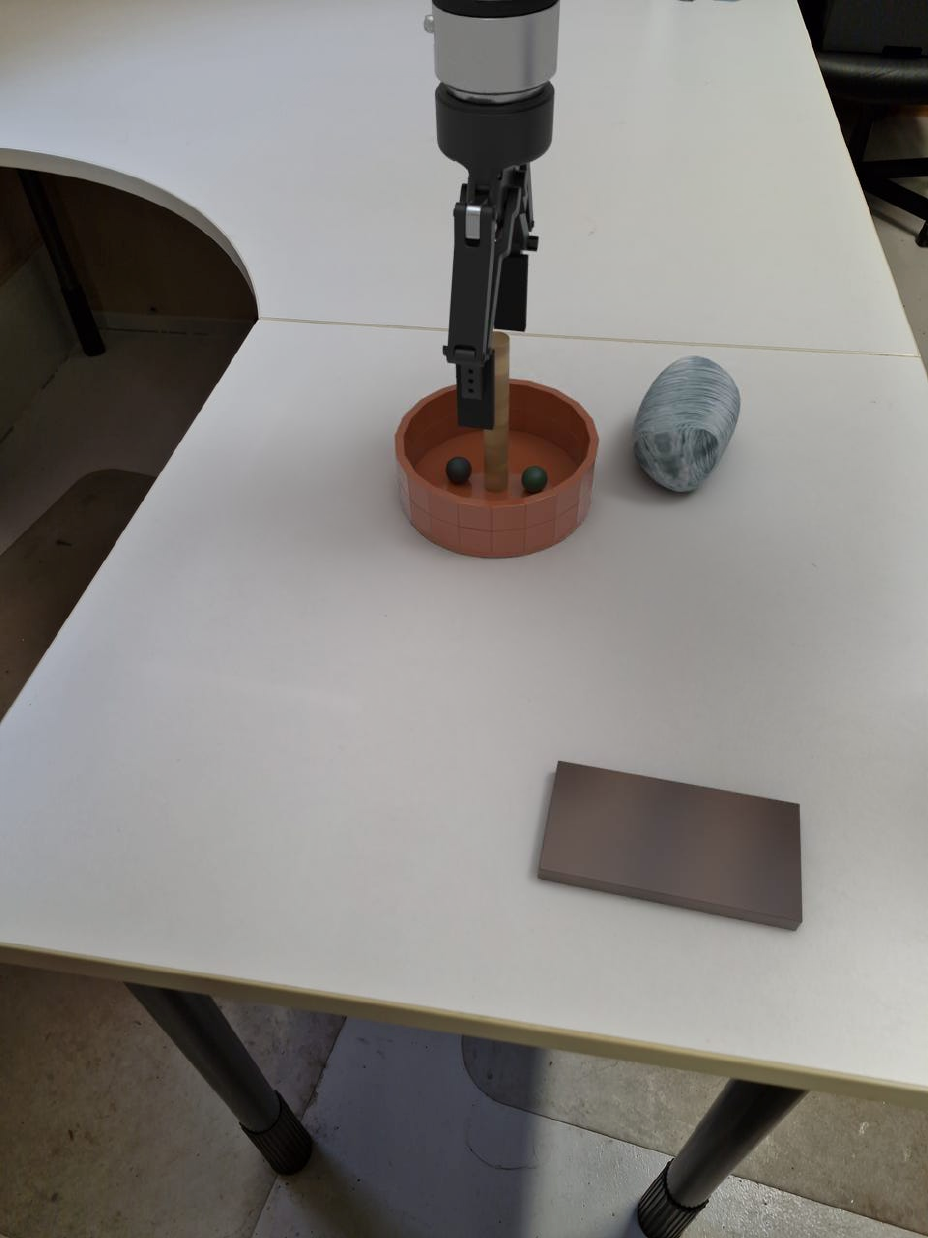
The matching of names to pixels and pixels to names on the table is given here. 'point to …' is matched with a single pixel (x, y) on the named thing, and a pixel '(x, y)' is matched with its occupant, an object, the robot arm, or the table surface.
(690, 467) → the blue yarn skein
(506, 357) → the stick
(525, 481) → the bead
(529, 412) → the bowl
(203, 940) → the table surface
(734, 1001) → the table surface
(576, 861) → the brown board
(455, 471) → the bead
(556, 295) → the table surface
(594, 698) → the table surface
